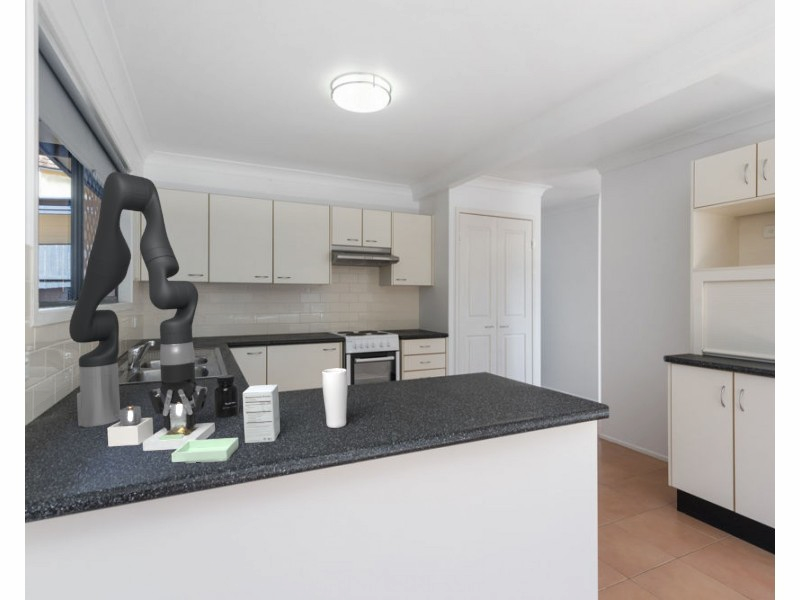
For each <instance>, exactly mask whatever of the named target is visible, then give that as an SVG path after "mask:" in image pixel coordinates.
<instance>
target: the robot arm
mask: <svg viewBox="0 0 800 600" xmlns="http://www.w3.org/2000/svg"><path fill="white" fill-rule="evenodd" d="M123 211H133V212H141V214H142V215H143V217H144V219H145V222H146V223H145V228H144V230H143V233H142V235H141V238H140V243H139V251H140V255H141V258H142V260H143V263H144V265H145V267H146V269H147V273H148V276H147V277H148V291H149V292H148V293H149V295H148V296H149V300H150V302H151V304H152V305H153V306H154V307H155V308H157V309H158V310H162V311H165V310H176V311H175V314H174V316H172V317H171V318H168V319H165V320H163V321H162V322H160V323H159V324H160V325H159V334H160V335H159V336H160V337H159V338H160V348H159V364H160V365H159V367H160V382H161V385H160V386H159V388H153V389H151V390H149V391H148V396H149V399H150V401H151V404H152V407H153V411H154V413H155V414H157V415H158V414H159V415H162V416H163V425H164V427H165V428H167V431H170V410H169V408H170V404H171V403H175V402H183V405H184V407H186V410H187V413H188V415H187V429H188V430H191V429H192V428H194V426H195V425H196V424H197V415H196V414H197V413H199V412H200V411H201V410H203V409H204V407H205V404H206V399H207V396H208V392H209V387H208V386H200V385H198V384H197V381H196V366H195V365H196V364H195V363H196V362H195V360H196V355H195V349H194V348H195V347H194V344H193V322H194V319H195V315H196V310H197V306H198V302H199V292H198V289H197V287H196V285H195V284H194V283H193V282H191V281H187V280H168V279H169V278H172V277H175V276H176V275H177V274H178V273H179V270H180V265H179V262H178V260H177V257H176V255H175V253H174V249H173V247H172V246H171V242H170V240H169V236H168V233H167V228H166V223H165V218H164V213H163V210H162V204H161V201H160V196H159V192H158V189H157V187H156V185H155V184H154V182H153V181H152V180H151V179H149V178H146V177H143V176H140V175H139V176H138V175H134V174H129V173H124V172H120V171H119V172H118V171H114V172H111V173H109V174H108V175H107V177H106V178H105V182H104V184H103V189H102V193H101V200H100V209H99V215H98V221H97V222H98V223H97V225H96V226H97V227H96V231H95V235H94V240H93V242H92V247H91V250H90V253H89V257H88V259H87V260H88V261H87V264H86V270H85V275H84V279H83V281H82V282H83V284H82V286H81V290H80V292H79V295H78V298H77V301H76V304H75V306H74V309H73V311H72V314H71V318H70V321H69V335H70V338H71V340H72V341H73V342H76V343H80V344H81V343H82V344H86V343H92V342H93V343H96V342H98V345H97V346H96V347H95V348H94V349H92V350H91V351H89V352H87V353H85V354H82V355H81V356H79V358H78V371H79V373H78V374H79V389H80V390H79V392H77V394H76V405H77V425H78V427H84V428H88V427H96V426H102V425H103V426H104V425H107V424H112V423H114V422H117V421H120V410H121V399H120V383H119V381H120V380H119V363H118V361H119V359H118V357H119V352H120V351H119V350H120V348H119V347H120V346H119V343H120V342H119V341H120V339H119V335H120V333H119V332H120V324H119V323H120V322H119V319H118V318H119V317H118V316H117V314H116V312H115V311H114V310H112V309H98V307H99V305H100V304H101V302H102V301H104V299H105V298H106V297H108V295H110V294H111V293H112V292H113V291H114V290H115V289H116V288H117V287H119V286H120V285H121V283H122V282H124V280H125V278H127V274H128V271H129V268H130V264H131V260H132V254H131V250H130V247H129V244H128V242H127V240H126V238H125V237H124V234H123V232H122V229H121V226H120V225H121V217H122V212H123ZM195 392H196V396H197V398H196V399H197V400H196V403H195V399H194V398H195V397H194V396H193V395H194V393H195ZM162 395H163V396H164V398H165V400H164V401H163V399H162ZM164 427H163V428H164Z"/></svg>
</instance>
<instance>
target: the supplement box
mask: <svg viewBox="0 0 800 600" xmlns="http://www.w3.org/2000/svg"><path fill="white" fill-rule="evenodd" d="M242 408H243V409H242V411H243V427H244V428H243V429H244V431H243V432H244V443H245V444H252V443H253V444H254V443H256V444H257V443H268V442H275V441H276V440H277V438H278V435H279V434H280V432H281V420H280V419H281V418H280V403H279V384H262V385H261V384H260V385H249V386H248V387H247V388H246V389H245V390H244V391H243V392H242Z"/></svg>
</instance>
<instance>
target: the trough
mask: <svg viewBox="0 0 800 600" xmlns="http://www.w3.org/2000/svg"><path fill="white" fill-rule="evenodd" d="M239 447H240V446H239V437H228V438H227V437H225V438H209V439H208V438H206V439H205V440H188V441H187V442H185V443H184V444H183V445H182V446H180V447H179V448H178V449H175V450H174V451H173V452H172V453H171V462H172V463H178V462H179V463H180V462H181V463H182V462H183V463H185V464H197V463H196V462H201V463H214V462H215V463H216V462H227V461H229V459H230V458H231V457H232V455H233V454H234V453H235V452H236V451H237V449H238V448H239Z"/></svg>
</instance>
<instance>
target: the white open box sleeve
mask: <svg viewBox="0 0 800 600" xmlns="http://www.w3.org/2000/svg"><path fill="white" fill-rule="evenodd" d="M153 418H154V417H141V423H140V424H138V425H137V426H121V427H120V421H118V422H117V423H114V424H112V425H110V426H109V427H107V441H108V442H107V444H108V445H107V446H108V447H119V446H120V447H121V446H123V447H124V446H125V447H126V446H137V445H138V446H139V445H141V444H143V441H145V440H146V439H148V438H149V437H151V436H152V435H154V422H153Z"/></svg>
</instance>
